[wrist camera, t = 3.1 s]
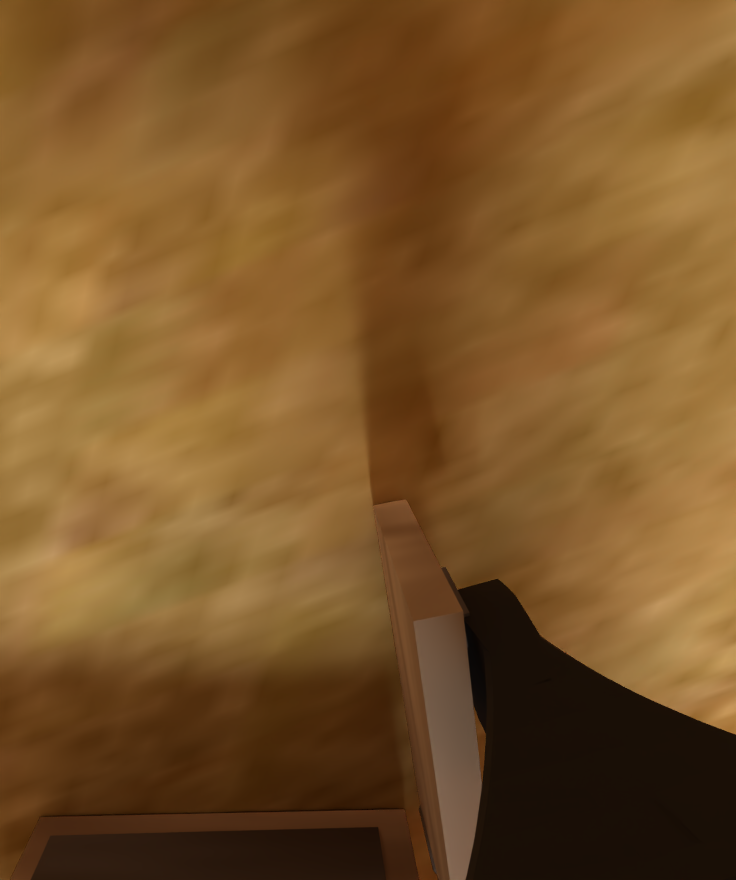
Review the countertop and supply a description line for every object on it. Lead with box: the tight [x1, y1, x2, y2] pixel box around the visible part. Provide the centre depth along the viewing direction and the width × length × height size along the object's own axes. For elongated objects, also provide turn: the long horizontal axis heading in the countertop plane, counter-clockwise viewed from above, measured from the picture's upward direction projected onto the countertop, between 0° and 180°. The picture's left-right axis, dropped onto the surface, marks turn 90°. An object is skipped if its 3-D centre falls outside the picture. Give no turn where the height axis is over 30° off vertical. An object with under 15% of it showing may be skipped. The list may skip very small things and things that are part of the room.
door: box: [373, 499, 482, 880], centre depth 12 cm, size 1×10×5 cm, turn 8°
